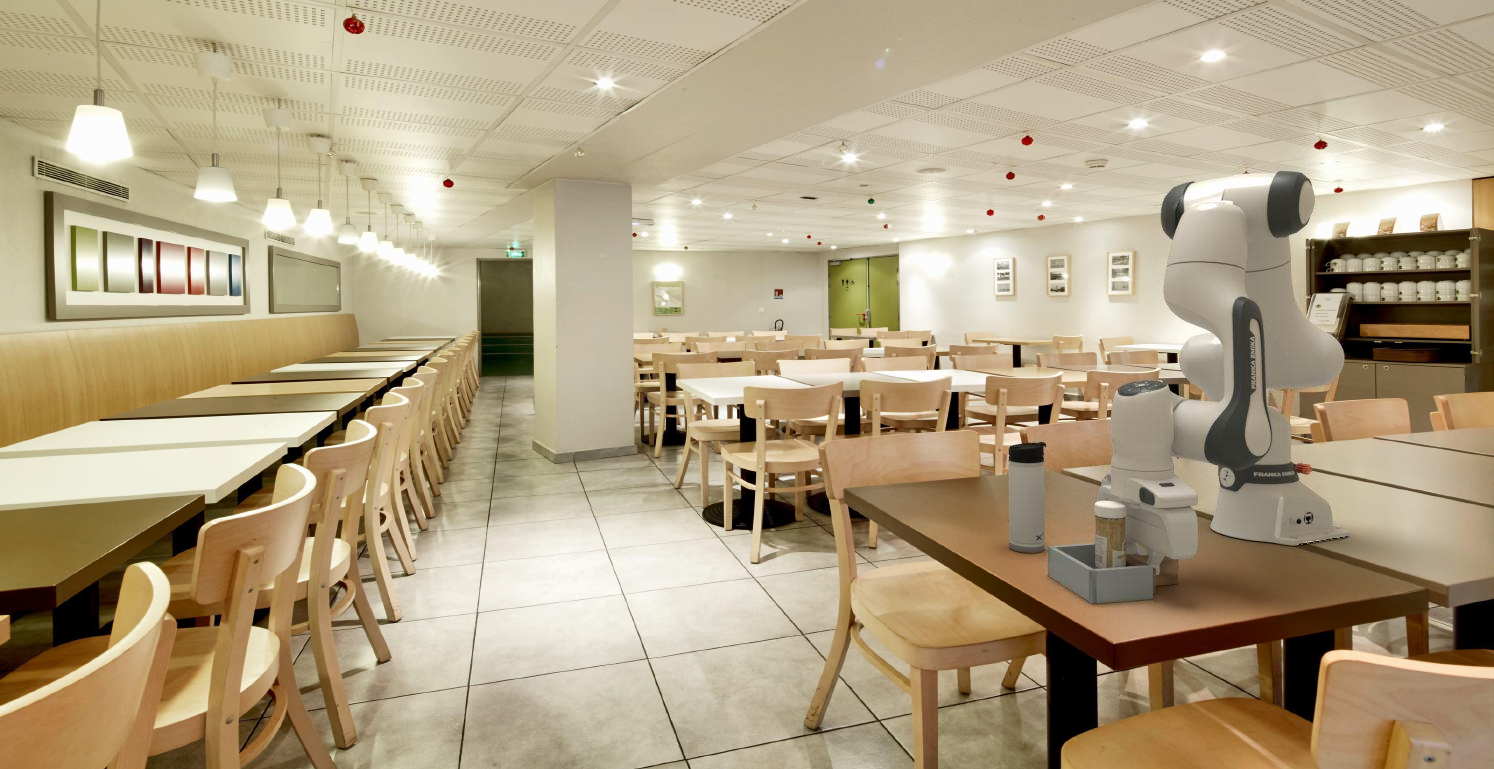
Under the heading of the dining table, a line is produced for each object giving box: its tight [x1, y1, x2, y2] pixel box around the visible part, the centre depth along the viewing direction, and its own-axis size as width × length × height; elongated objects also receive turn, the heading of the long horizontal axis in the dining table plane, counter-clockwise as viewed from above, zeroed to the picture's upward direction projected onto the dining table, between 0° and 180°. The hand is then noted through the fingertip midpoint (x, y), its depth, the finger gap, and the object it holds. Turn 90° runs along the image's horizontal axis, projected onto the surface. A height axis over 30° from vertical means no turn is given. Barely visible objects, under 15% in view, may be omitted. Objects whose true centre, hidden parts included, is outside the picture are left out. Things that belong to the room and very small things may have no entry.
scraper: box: [1126, 554, 1180, 595], centre depth 118 cm, size 8×9×4 cm
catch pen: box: [1047, 542, 1154, 605], centre depth 117 cm, size 10×13×5 cm
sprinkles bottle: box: [1093, 501, 1127, 569], centre depth 117 cm, size 5×5×14 cm
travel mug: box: [1007, 441, 1047, 554], centre depth 137 cm, size 6×7×20 cm
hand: (1142, 569), depth 118 cm, fingers closed on scraper, 3 cm apart
